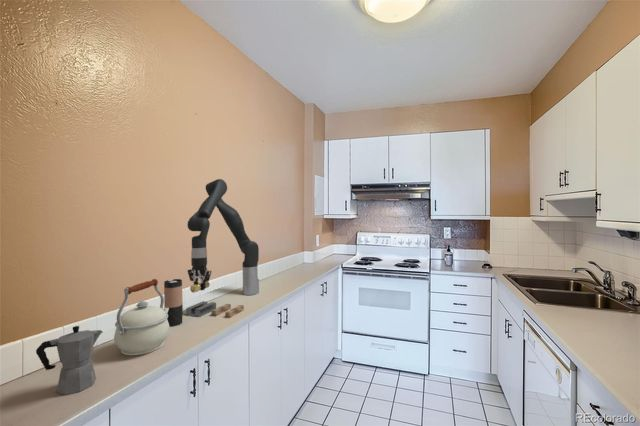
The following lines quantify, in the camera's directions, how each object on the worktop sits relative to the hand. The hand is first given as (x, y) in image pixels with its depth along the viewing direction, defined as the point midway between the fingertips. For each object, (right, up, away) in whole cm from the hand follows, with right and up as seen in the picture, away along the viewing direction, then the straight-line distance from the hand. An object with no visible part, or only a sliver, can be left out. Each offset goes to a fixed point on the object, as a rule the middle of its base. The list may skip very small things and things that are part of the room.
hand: (199, 289), depth 155 cm
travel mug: (-6, -12, -15) cm, 20 cm away
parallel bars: (+15, -12, -1) cm, 19 cm away
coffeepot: (-12, -13, -65) cm, 68 cm away
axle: (0, 0, 0) cm, 1 cm away
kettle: (-6, -12, -38) cm, 40 cm away
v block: (+1, -12, +1) cm, 12 cm away
